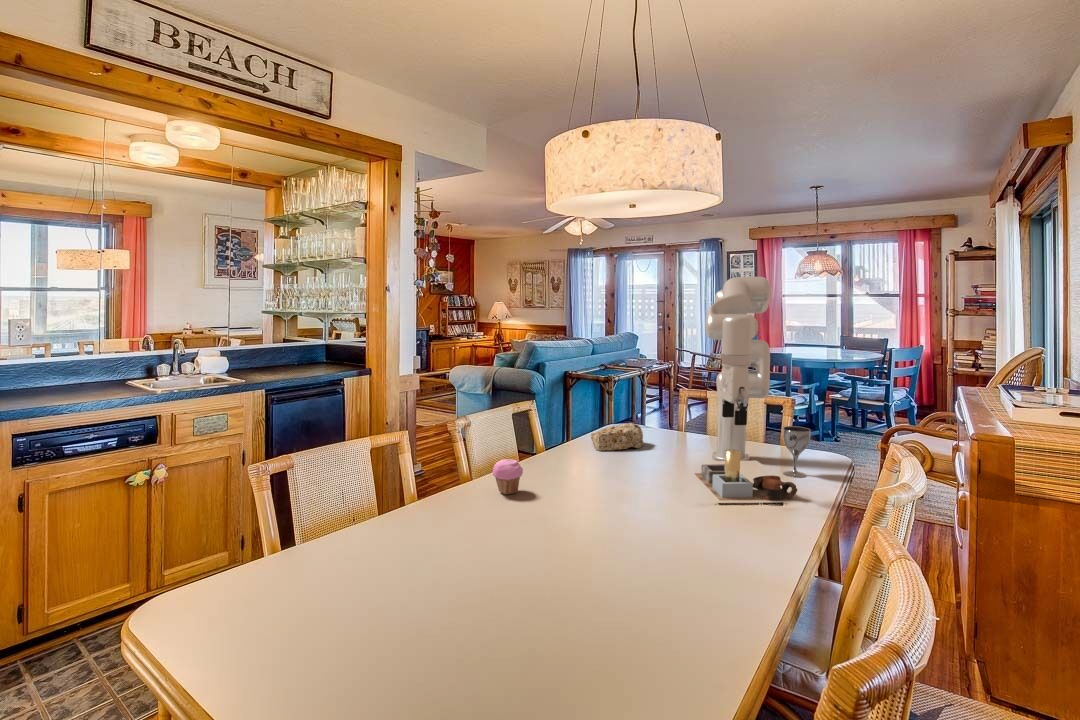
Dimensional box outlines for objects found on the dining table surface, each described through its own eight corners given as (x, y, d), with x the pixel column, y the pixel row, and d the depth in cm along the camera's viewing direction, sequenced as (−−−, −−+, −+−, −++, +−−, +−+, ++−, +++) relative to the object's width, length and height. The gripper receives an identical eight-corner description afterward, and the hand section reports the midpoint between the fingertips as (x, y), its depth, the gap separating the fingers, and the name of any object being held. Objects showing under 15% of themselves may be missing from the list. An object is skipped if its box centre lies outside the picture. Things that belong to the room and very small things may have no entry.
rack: (712, 487, 162) (712, 474, 162) (741, 487, 163) (741, 474, 162) (722, 497, 154) (722, 483, 154) (752, 497, 154) (752, 483, 154)
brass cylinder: (722, 490, 160) (723, 449, 159) (736, 489, 161) (737, 449, 159) (727, 494, 156) (728, 453, 155) (741, 494, 157) (742, 452, 155)
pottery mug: (751, 506, 153) (746, 476, 157) (758, 511, 161) (754, 482, 164) (797, 502, 148) (792, 471, 151) (803, 507, 155) (797, 478, 159)
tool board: (694, 478, 176) (694, 462, 176) (728, 477, 176) (729, 462, 176) (719, 505, 152) (720, 487, 152) (759, 505, 153) (760, 487, 152)
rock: (599, 456, 206) (595, 429, 207) (588, 455, 220) (584, 429, 222) (651, 446, 211) (646, 420, 212) (637, 446, 225) (632, 421, 226)
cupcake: (527, 494, 162) (527, 460, 161) (500, 499, 158) (500, 465, 157) (514, 485, 170) (513, 453, 169) (487, 490, 165) (487, 457, 164)
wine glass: (793, 479, 175) (795, 432, 173) (776, 471, 183) (777, 426, 181) (814, 476, 177) (816, 430, 176) (796, 469, 185) (798, 425, 183)
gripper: (712, 357, 163) (710, 414, 165) (733, 364, 146) (731, 428, 148) (737, 356, 163) (736, 414, 165) (762, 364, 146) (759, 428, 148)
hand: (734, 420), depth 157 cm, fingers open, 9 cm apart
